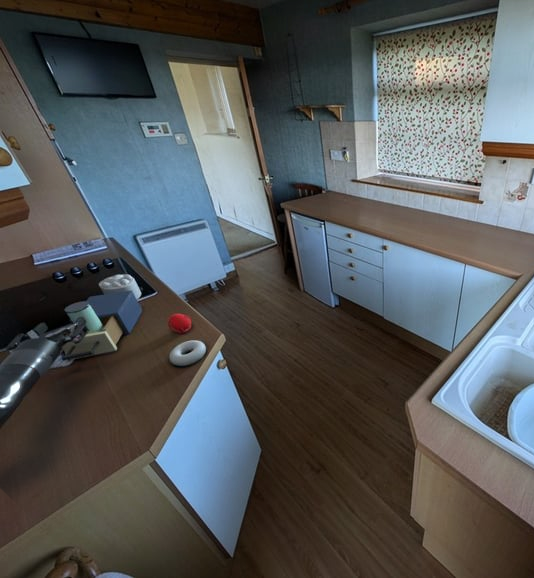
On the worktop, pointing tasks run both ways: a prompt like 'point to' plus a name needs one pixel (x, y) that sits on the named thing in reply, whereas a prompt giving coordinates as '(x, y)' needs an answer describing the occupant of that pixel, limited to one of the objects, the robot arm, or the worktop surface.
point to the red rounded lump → (179, 323)
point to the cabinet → (117, 308)
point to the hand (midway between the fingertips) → (64, 322)
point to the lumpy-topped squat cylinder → (120, 285)
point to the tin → (85, 316)
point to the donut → (182, 360)
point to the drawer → (96, 340)
